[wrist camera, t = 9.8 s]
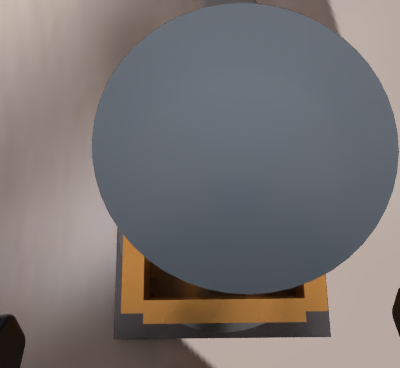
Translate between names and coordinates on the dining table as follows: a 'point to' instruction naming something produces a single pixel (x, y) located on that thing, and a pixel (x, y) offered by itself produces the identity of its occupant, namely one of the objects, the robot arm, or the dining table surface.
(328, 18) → the dining table surface
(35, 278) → the dining table surface
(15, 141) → the dining table surface
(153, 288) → the open square bin
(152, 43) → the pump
